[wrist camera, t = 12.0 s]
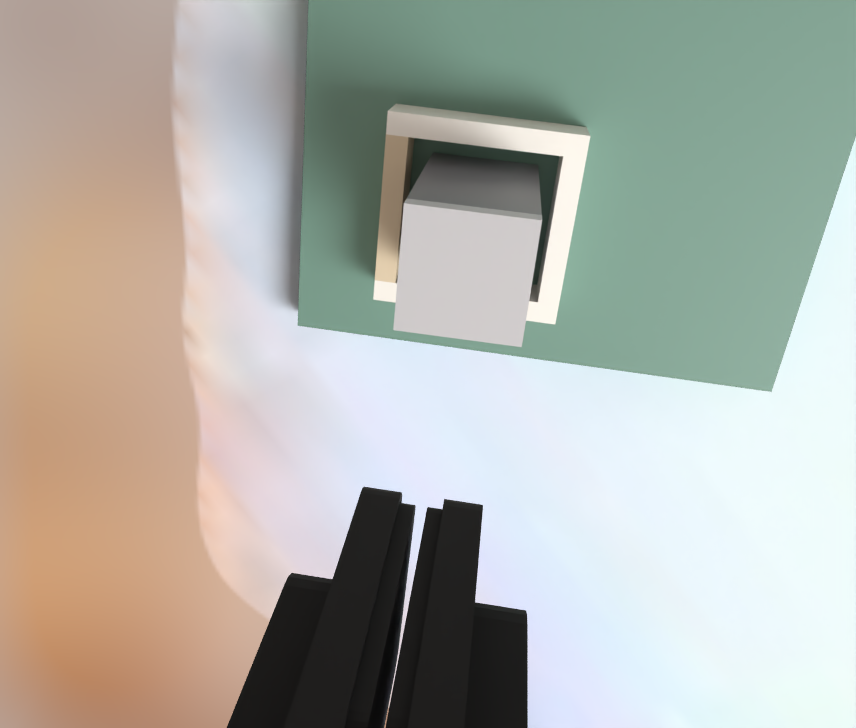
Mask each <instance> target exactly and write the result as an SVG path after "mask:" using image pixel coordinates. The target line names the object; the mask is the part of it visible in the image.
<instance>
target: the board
mask: <svg viewBox="0 0 856 728" xmlns="http://www.w3.org/2000/svg"><path fill="white" fill-rule="evenodd" d="M855 137H856V0H308V30H307V61H306V91H305V121H304V152H303V182H302V212H301V243H300V273H299V303H298V326H305V327H312V328H319V329H326V330H333V331H340V332H347V333H355V334H362V335H369V336H376V337H383V338H390V339H398V340H405V341H412V342H419V343H426V344H433V345H441V346H448V347H455V348H462V349H469V350H476V351H483V352H491V353H498V354H505V355H512V356H519V357H526V358H534V359H541V360H548V361H555V362H562V363H569V364H577V365H584V366H591V367H598V368H605V369H612V370H619V371H627V372H634V373H641V374H648V375H655V376H662V377H670V378H677V379H684V380H691V381H698V382H705V383H713V384H720V385H727V386H734V387H741V388H748V389H755V390H763V391H770V392H771V391H772V388H773V385H774V382H775V379H776V376H777V373H778V370H779V367H780V364H781V361H782V358H783V355H784V352H785V349H786V346H787V343H788V340H789V337H790V334H791V331H792V328H793V325H794V322H795V319H796V316H797V313H798V310H799V307H800V303H801V300H802V297H803V294H804V291H805V288H806V285H807V282H808V279H809V276H810V273H811V270H812V267H813V264H814V261H815V258H816V255H817V252H818V249H819V246H820V243H821V240H822V237H823V234H824V231H825V228H826V225H827V222H828V219H829V216H830V213H831V210H832V207H833V204H834V200H835V197H836V194H837V191H838V188H839V185H840V182H841V179H842V176H843V173H844V170H845V167H846V164H847V161H848V158H849V155H850V152H851V149H852V146H853V143H854V140H855ZM433 152H434V153H443V154H451V155H459V156H468V157H476V158H485V159H493V160H501V161H510V162H518V163H526V164H535V165H538V169H539V183H540V197H541V211H542V225H541V231H540V237H539V243H538V249H537V256H536V262H535V268H534V274H533V280H532V286H531V293H530V299H529V305H528V311H527V317H526V323H525V330H524V336H523V342H522V347H516V346H509V345H501V344H494V343H486V342H479V341H471V340H464V339H456V338H449V337H441V336H434V335H426V334H419V333H411V332H404V331H396V330H393V328H394V316H395V304H396V292H397V280H398V268H399V256H400V244H401V232H402V220H403V208H404V202H405V201H406V199H407V197H408V195H409V193H410V192H411V190H412V188H413V186H414V185H415V183H416V181H417V179H418V178H419V176H420V174H421V172H422V171H423V169H424V167H425V165H426V164H427V162H428V160H429V158H430V157H431V155H432V153H433Z"/></svg>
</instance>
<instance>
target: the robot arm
mask: <svg viewBox="0 0 856 728" xmlns="http://www.w3.org/2000/svg"><path fill="white" fill-rule="evenodd" d="M401 502H402V493H401V492H395V491H388V490H382V489H375V488H369V487H363V488H362V491H361V494H360V497H359V500H358V503H357V506H356V509H355V512H354V515H353V518H352V521H351V524H350V528H349V531H348V534H347V537H346V540H345V543H344V546H343V549H342V552H341V555H340V558H339V561H338V564H337V567H336V570H335V574H334V577H333V579H326V578H320V577H314V576H308V575H301V574H295V573H291V574H290V575H289V577H288V578H287V581H286V583H285V585H284V587H283V590H282V592H281V595H280V597H279V599H278V602H277V604H276V607H275V609H274V612H273V614H272V617H271V619H270V622H269V624H268V627H267V629H266V632H265V635H264V637H263V639H262V642H261V644H260V647H259V649H258V652H257V654H256V657H255V659H254V661H253V664H252V667H251V669H250V671H249V674H248V676H247V679H246V681H245V684H244V686H243V689H242V691H241V694H240V696H239V699H238V701H237V704H236V706H235V709H234V711H233V714H232V716H231V719H230V721H229V723H228V726H227V728H384V725H385V720H386V715H387V710H388V704H389V699H390V694H391V689H392V684H393V678H394V673H395V667H396V661H397V655H398V648H399V640H400V631H401V623H402V615H403V607H404V598H405V590H406V582H407V573H408V565H409V557H410V548H411V540H412V532H413V524H414V515H415V505H410V504H404V503H401ZM482 510H483V505H479V504H473V503H466V502H460V501H453V500H447V499H444V504H443V510H442V509H436V508H429V507H428V508H427V512H426V517H425V523H424V528H423V533H422V539H421V544H420V549H419V554H418V560H417V565H416V570H415V575H414V581H413V586H412V591H411V597H410V602H409V607H408V612H407V618H406V623H405V628H404V633H403V639H402V644H401V649H400V655H399V660H398V665H397V670H396V676H395V681H394V686H393V691H392V697H391V702H390V707H389V713H388V718H387V723H386V728H527V613H526V611H525V610H519V609H513V608H506V607H500V606H494V605H488V604H482V603H475V594H476V582H477V570H478V558H479V546H480V534H481V522H482Z"/></svg>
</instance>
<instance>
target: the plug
mask: <svg viewBox="0 0 856 728" xmlns="http://www.w3.org/2000/svg"><path fill="white" fill-rule="evenodd" d="M541 225H542V211H541V197H540V183H539V169H538V165H535V164H526V163H518V162H510V161H501V160H493V159H485V158H476V157H468V156H459V155H451V154H443V153H434V152H433V153H432V155H431V157H430V158H429V160H428V162H427V164H426V165H425V167H424V169H423V171H422V172H421V174H420V176H419V178H418V179H417V181H416V183H415V185H414V186H413V188H412V190H411V192H410V193H409V195H408V197H407V199H406V201H405V202H404V208H403V220H402V232H401V244H400V256H399V268H398V280H397V292H396V304H395V316H394V328H393V330H396V331H404V332H411V333H419V334H426V335H434V336H441V337H449V338H456V339H464V340H471V341H479V342H486V343H494V344H501V345H509V346H516V347H522V342H523V336H524V330H525V323H526V317H527V311H528V305H529V299H530V293H531V286H532V280H533V274H534V268H535V262H536V256H537V249H538V243H539V237H540V231H541Z"/></svg>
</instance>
